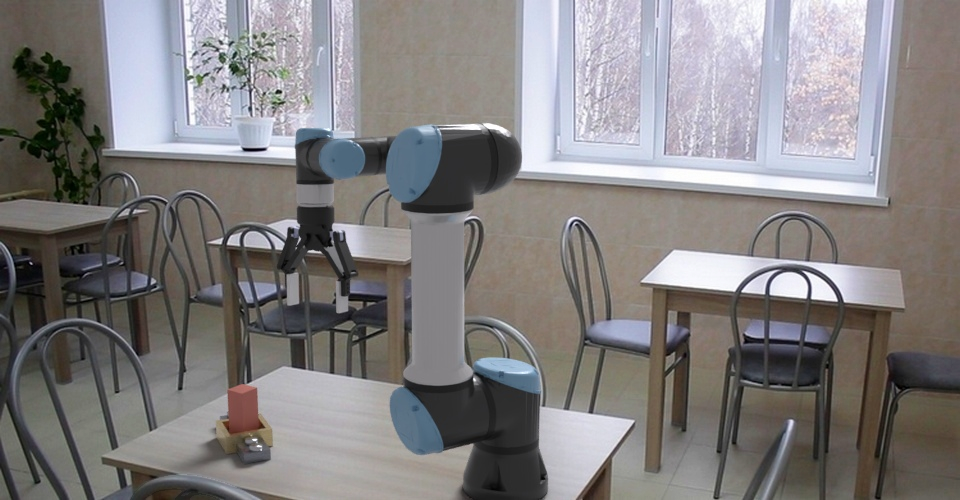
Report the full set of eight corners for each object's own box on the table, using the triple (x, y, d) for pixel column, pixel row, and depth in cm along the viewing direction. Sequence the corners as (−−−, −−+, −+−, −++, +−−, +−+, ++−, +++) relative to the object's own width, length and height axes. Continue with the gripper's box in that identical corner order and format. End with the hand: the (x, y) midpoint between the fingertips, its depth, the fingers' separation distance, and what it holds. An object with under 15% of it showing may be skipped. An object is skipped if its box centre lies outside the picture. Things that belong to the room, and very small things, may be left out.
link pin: (259, 440, 194) (257, 387, 192) (244, 447, 191) (241, 393, 189) (244, 436, 196) (242, 383, 194) (229, 442, 193) (227, 389, 191)
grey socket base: (281, 457, 186) (280, 440, 185) (233, 466, 182) (233, 448, 181) (253, 419, 205) (253, 403, 204) (210, 426, 201) (209, 410, 200)
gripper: (375, 206, 194) (376, 312, 197) (284, 200, 208) (286, 298, 211) (349, 209, 188) (351, 318, 191) (258, 202, 202) (260, 304, 205)
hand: (317, 308), depth 201 cm, fingers open, 13 cm apart
